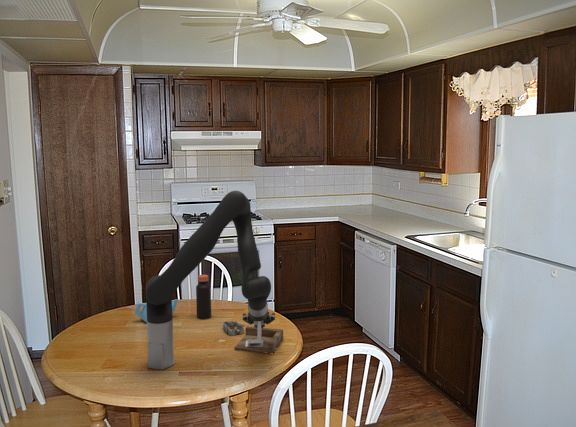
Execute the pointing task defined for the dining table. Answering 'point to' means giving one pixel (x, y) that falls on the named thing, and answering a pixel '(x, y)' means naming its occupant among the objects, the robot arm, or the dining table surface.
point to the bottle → (203, 297)
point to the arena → (269, 340)
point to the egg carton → (233, 327)
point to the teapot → (144, 310)
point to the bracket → (259, 335)
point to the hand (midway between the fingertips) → (259, 326)
